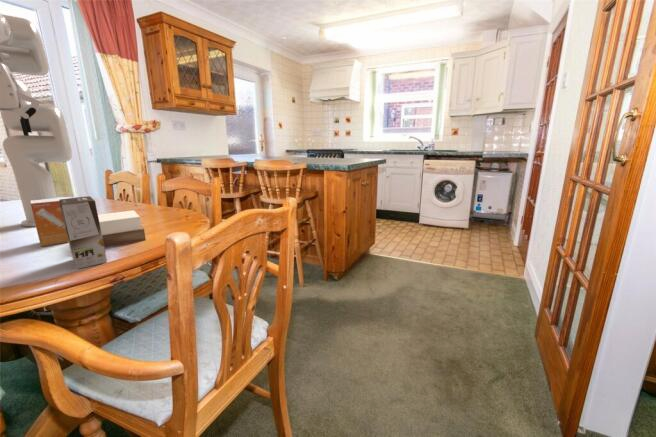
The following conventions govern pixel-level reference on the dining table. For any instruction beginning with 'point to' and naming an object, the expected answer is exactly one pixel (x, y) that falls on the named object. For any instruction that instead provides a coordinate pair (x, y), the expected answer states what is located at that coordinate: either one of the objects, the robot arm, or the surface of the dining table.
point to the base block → (124, 237)
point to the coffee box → (83, 231)
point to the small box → (49, 221)
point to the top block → (119, 222)
